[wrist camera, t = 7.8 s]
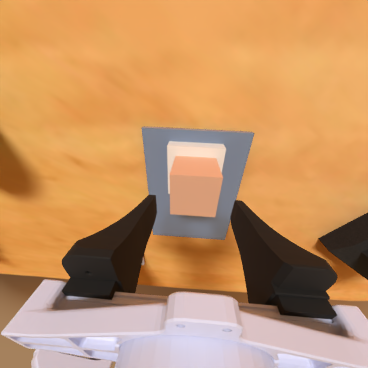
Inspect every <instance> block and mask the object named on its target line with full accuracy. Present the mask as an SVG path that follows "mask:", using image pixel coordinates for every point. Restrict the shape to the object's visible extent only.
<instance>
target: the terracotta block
mask: <svg viewBox="0 0 368 368" xmlns="http://www.w3.org/2000/svg"><path fill="white" fill-rule="evenodd" d="M222 181H223V176H222V173H221V170H220V167H219V164H218V162H217V159H216V158H208V157H190V156H175V159H174V162H173V165H172V168H171V171H170V214H175V215H189V216H203V217H215V216H216V211H217V206H218V201H219V196H220V191H221V186H222Z"/></svg>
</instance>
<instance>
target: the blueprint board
mask: <svg viewBox="0 0 368 368" xmlns="http://www.w3.org/2000/svg"><path fill="white" fill-rule="evenodd" d="M142 135H143V144H144V154H145V163H146V172H147V181H148V191H149V195H156V204H157V215H156V219H155V223H154V226H153V235H166V236H179V237H193V238H206V239H219V240H225V237H226V234H227V230H228V226H229V223H230V216H231V212H232V209H233V205H234V201H235V200H236V197H237V194H238V190H239V187H240V183H241V179H242V176H243V172H244V168H245V165H246V161H247V158H248V154H249V150H250V147H251V143H252V139H253V136H254V133H253V132H243V131H223V130H203V129H183V128H163V127H142ZM175 156H190V157H208V158H216V159H217V162H218V164H219V167H220V170H221V173H222V176H223V181H222V186H221V191H220V196H219V201H218V206H217V211H216V216H215V217H203V216H189V215H175V214H170V171H171V168H172V165H173V162H174V159H175Z"/></svg>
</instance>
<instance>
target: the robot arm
mask: <svg viewBox="0 0 368 368" xmlns="http://www.w3.org/2000/svg"><path fill="white" fill-rule="evenodd" d="M156 215H157V204H156V195H148V196H147V197H146V198H145V199H144V200H143V201H142V202H141V203H140V204H139V205H138V206H137V207H136V208H134V209H133V210H132V211H131V212H130V213H128V214H127V215H126V216H125V217H123V218H122V219H120V220H119V221H117V222H116V223H114V224H112V225H110V226H109V227H107V228H105V229H103V230H101V231H99V232H97V233H95V234H93V235H91V236H88V237H86V238H83V239H81V240H78V241H77V242H76V243H75V244H74V245H73V246H72V248H71V249H70V250H69V251H68V253H67V254H66V255H65V257H64V258H63V259H62V265H63V267H64V269H65V270H66V272H67V273H68V274H69V276H70V277H71V278H70V279H69V281H68V282H67V283H66V282H64V281H60V280H49V279H46V280H44V281H43V282H42V283H41V284H40V286H39V287H38V288H37V289H36V291H35V292H34V293H33V294H32V295H31V297H30V298H29V299H28V301H27V302H26V303H25V304H24V305H23V306H22V308H21V309H20V310H19V312H18V313H17V314H16V315H15V316H14V318H13V319H12V320H11V321H10V322H9V324H8V325H7V326H6V327H5V329H4V330H3V331H2V332H1V334H2V335H3V336H5V337H7V338H9V339H11V340H13V341H15V342H16V343H18V344H20V345H22V346H24V347H26V348H30V349H36V350H35V352H34V354H33V356H34V357H33V359H32V361H31V365H32V368H110V367H111V365H112V363H113V362H116V365H115V368H368V320H367V318H366V317H365V316H364V315H363V313H362V312H361V311H360V309H359V308H358V307H356V306H349V305H332V306H331V305H330V303H329V302H328V300H329V299H330V298H329V296H328V294H327V293H326V290H328V289H329V288H330V287H331V286H332V285H333V284H334V283H335V282H336V280H337V274H336V273H335V271H334V270H333V269H332V268H331V266H330V265H329V264H328V263H327V261H326V260H324V259H322V258H320V257H318V256H316V255H314V254H312V253H310V252H308V251H306V250H305V249H303V248H301V247H299V246H297V245H296V244H294V243H292V242H291V241H289V240H288V239H286V238H285V237H283V236H282V235H280V234H279V233H277V232H276V231H275V230H273V229H272V228H271V227H269V226H268V225H267V224H266V223H265V222H263V221H262V220H261V219H260V218H259V217H258V216H257V215H256V214H255V213H254V212H253V211H252V210H251V209H250V208H249V207H248V206H247V205H246V204H245V203H244V202H242V201H238V200H235V201H234V205H233V209H232V212H231V216H230V219H231V225H232V229H233V232H234V235H235V239H236V242H237V245H238V248H239V251H240V255H241V260H242V265H243V270H244V276H245V281H246V288H247V294H248V302H249V303H238V302H237V301H236V300H235V299H234V298H232V297H231V296H226V295H220V294H208V293H197V292H185V291H184V292H175V293H172V294H170V295H169V296H158V295H146V294H136V293H135V291H136V286H137V282H138V277H139V273H140V268H141V265H144V264H145V261H144V252H145V248H146V245H147V242H148V239H149V237H150V234H151V231H152V228H153V226H154V223H155V219H156ZM65 353H67V354H65ZM70 354H73V355H70ZM74 355H79V356H85V357H90V358H83V357H79V356H74Z"/></svg>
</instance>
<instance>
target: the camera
mask: <svg viewBox="0 0 368 368" xmlns="http://www.w3.org/2000/svg"><path fill="white" fill-rule="evenodd" d="M319 240H320V241H321V242H322V243H323V244H324V246H325V247H326V248H327V249H328V250H329V251H330V252H331V253H332V254H334V255H335V256H336V257H338V258H339V259H340V260H342V261H343V262H344V263H346V264H347V265H349V266H350V267H351V268H353V269H354V270H355V271H357V272H358V273H359V274H361V275H362V276H363V277H365V278H366V279H367V280H368V213H366V214H364V215H362V216H360V217H358V218H357V219H355V220H353V221H351V222H349V223H347V224H345V225H343V226H341V227H339V228H338V229H336V230H334V231H332V232H330V233H328V234H326V235H324V236H322V237H320V238H319Z"/></svg>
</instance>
